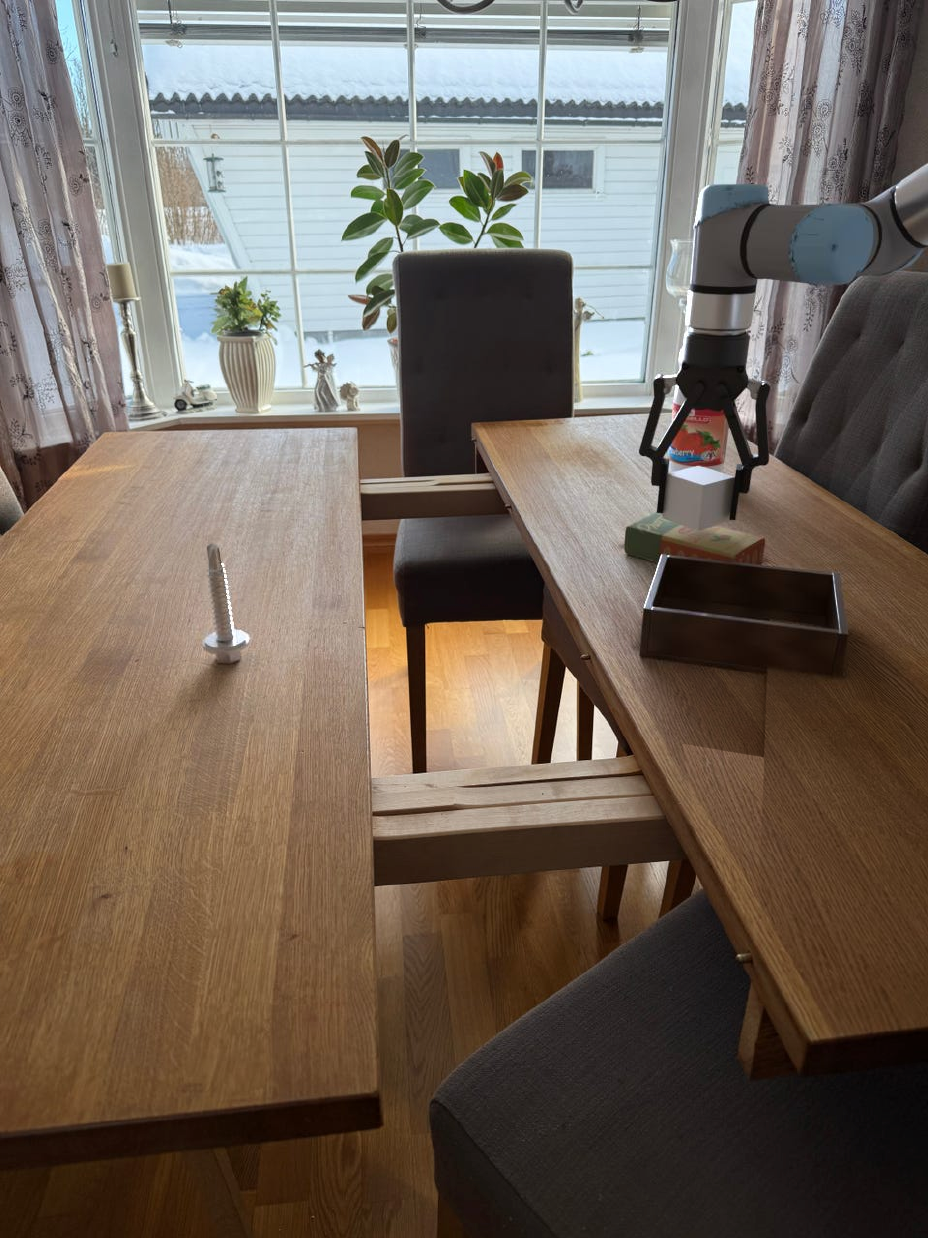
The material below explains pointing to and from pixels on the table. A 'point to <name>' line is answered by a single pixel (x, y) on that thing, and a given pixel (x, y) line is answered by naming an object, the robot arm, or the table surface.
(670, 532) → the carton
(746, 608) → the box
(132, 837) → the table surface
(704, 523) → the white cube
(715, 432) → the fruit juice
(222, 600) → the screw
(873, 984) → the table surface
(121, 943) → the table surface
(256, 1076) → the table surface
